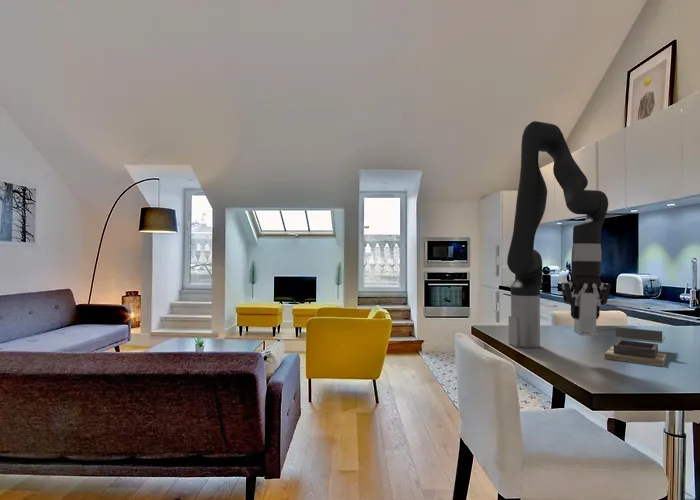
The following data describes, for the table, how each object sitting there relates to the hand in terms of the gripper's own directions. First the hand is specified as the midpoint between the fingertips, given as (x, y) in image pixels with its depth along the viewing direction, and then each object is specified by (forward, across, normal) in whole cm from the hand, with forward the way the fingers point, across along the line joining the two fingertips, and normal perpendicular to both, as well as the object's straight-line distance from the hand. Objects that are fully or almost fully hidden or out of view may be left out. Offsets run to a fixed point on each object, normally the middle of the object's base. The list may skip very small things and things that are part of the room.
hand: (584, 318), depth 121 cm
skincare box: (+5, 0, 0) cm, 5 cm away
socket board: (+12, -19, -4) cm, 23 cm away
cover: (+8, -27, -13) cm, 31 cm away
